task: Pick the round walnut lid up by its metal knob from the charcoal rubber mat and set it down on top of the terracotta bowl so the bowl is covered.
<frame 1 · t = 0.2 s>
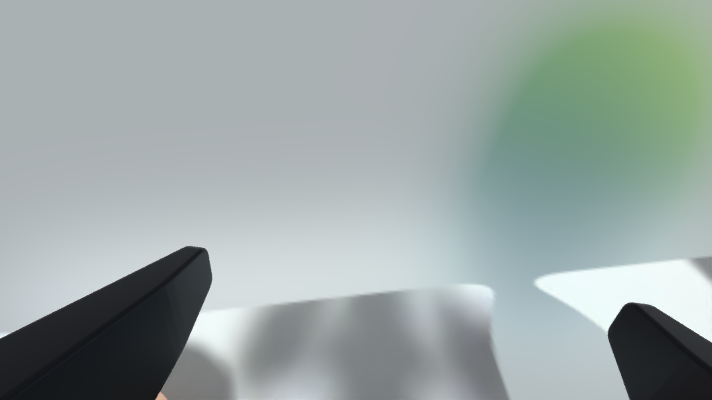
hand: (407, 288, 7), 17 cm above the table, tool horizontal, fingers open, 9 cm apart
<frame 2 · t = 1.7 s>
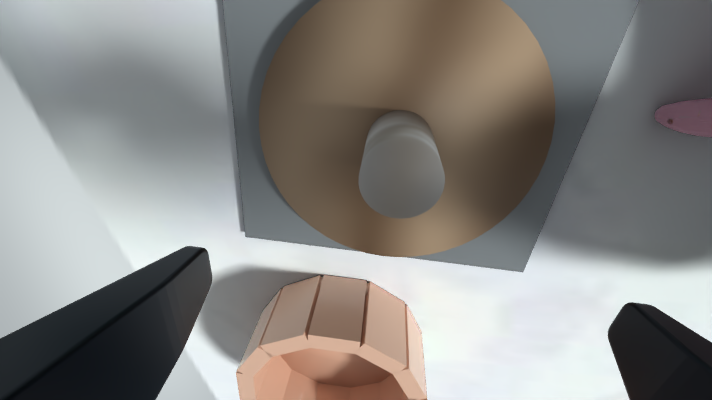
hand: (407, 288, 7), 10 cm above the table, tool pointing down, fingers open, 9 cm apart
lid: (399, 137, 16), resting on mat
mat: (399, 134, 16), on the table
bowl: (340, 336, 24), on the table
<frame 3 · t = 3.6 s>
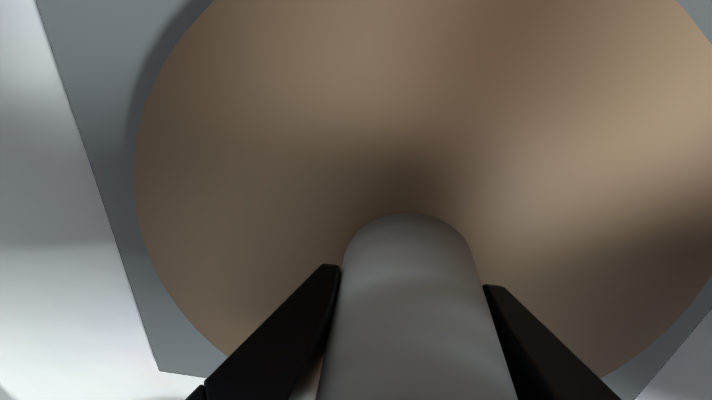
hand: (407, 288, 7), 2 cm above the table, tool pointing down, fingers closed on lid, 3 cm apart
lid: (405, 246, 9), resting on mat, touching gripper
mat: (404, 237, 9), on the table
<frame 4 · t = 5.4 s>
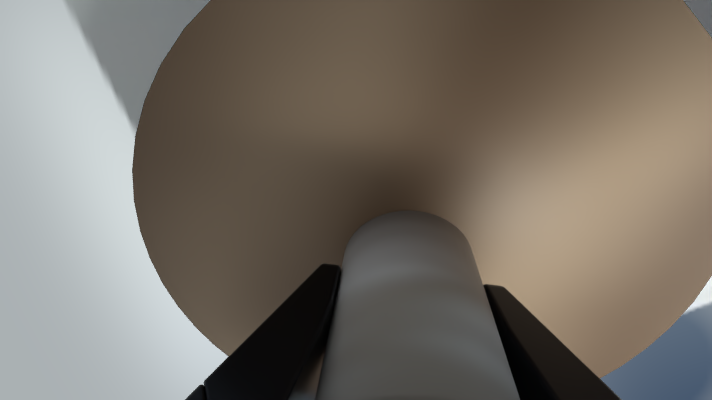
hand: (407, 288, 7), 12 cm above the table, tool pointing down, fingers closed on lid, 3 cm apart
lid: (406, 244, 9), point 10 cm above the table, touching gripper
when the fingers open (7 cm above the table, at t = 7.1 s): lid drops 1 cm, resting on bowl.
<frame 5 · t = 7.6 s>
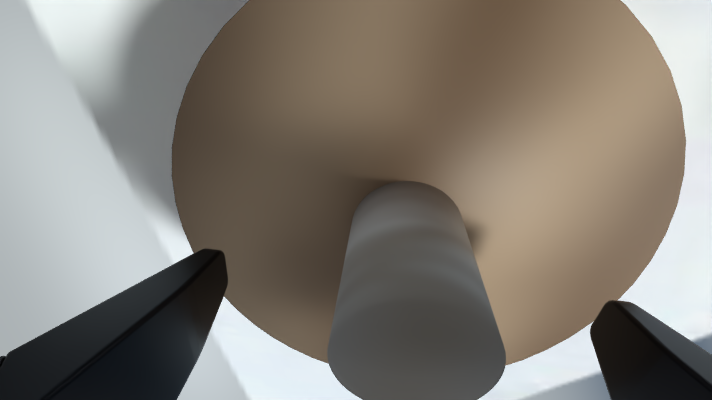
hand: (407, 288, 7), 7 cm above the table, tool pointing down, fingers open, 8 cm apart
lid: (405, 215, 10), point 4 cm above the table, touching bowl
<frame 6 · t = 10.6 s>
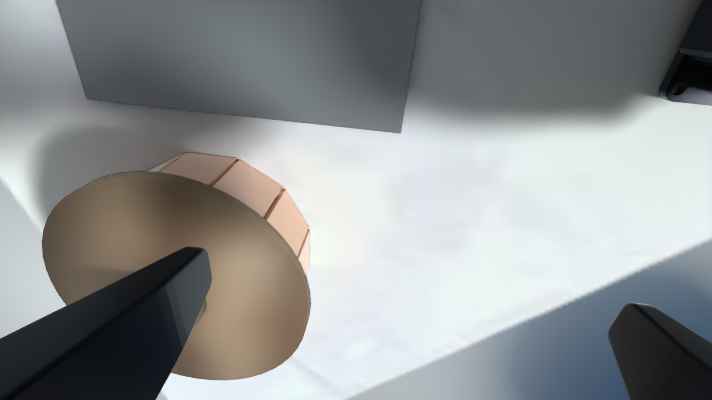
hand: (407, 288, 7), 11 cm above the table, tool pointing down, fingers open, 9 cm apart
lid: (185, 286, 17), point 4 cm above the table, touching bowl
bowl: (223, 236, 21), on the table
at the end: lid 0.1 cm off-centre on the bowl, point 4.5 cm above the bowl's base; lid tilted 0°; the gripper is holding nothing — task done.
